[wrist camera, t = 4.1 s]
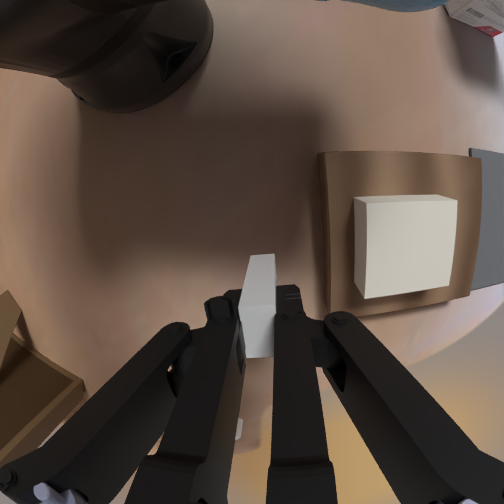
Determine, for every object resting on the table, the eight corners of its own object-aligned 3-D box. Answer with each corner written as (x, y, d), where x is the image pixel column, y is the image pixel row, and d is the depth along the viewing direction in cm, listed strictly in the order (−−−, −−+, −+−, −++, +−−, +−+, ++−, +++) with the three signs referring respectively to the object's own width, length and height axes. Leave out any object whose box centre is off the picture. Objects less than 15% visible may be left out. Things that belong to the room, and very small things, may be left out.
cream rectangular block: (354, 281, 21) (364, 298, 18) (353, 197, 19) (366, 203, 16) (432, 271, 20) (448, 285, 18) (437, 194, 18) (457, 200, 15)
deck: (325, 303, 25) (330, 319, 23) (317, 153, 21) (324, 152, 18) (455, 284, 24) (469, 295, 21) (463, 156, 19) (481, 158, 17)
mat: (459, 290, 24) (461, 292, 24) (469, 148, 19) (471, 148, 19) (514, 277, 23) (516, 278, 22) (524, 158, 18) (526, 159, 17)
